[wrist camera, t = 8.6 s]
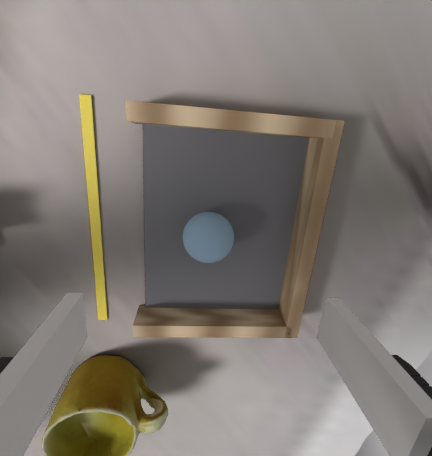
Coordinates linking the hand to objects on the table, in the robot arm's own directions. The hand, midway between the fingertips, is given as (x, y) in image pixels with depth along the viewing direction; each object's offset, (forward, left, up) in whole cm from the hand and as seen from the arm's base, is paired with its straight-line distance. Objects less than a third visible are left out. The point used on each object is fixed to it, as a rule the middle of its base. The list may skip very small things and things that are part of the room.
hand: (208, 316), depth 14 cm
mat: (+2, 0, -15) cm, 15 cm away
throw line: (-11, 0, -15) cm, 18 cm away
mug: (-9, -21, -15) cm, 27 cm away
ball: (+1, 0, -12) cm, 12 cm away
